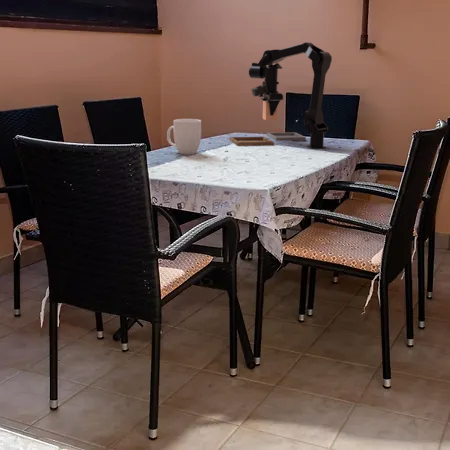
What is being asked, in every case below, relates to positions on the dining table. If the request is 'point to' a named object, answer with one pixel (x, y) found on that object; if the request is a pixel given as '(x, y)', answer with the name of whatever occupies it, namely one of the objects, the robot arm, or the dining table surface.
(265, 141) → the dish
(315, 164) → the dining table surface
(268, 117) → the block
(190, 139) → the mug
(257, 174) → the dining table surface
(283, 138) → the tray
